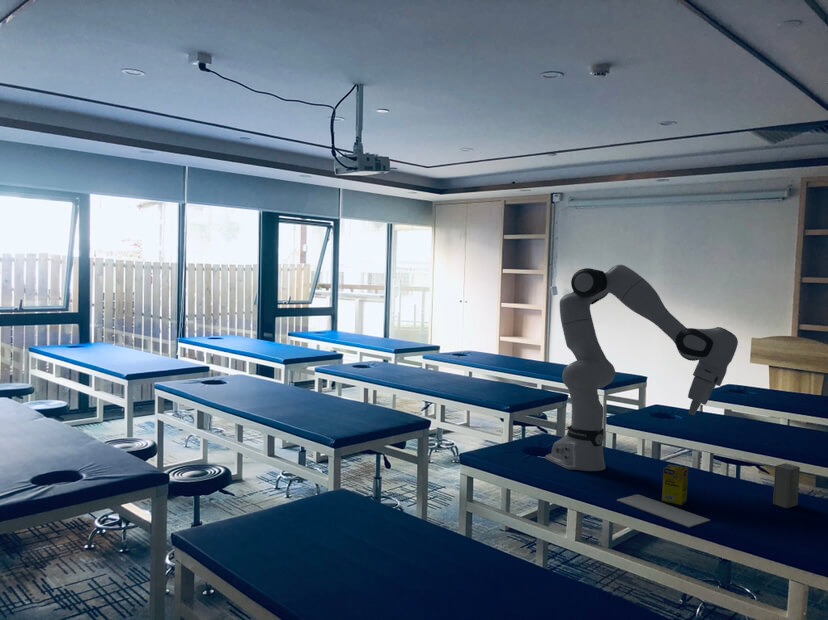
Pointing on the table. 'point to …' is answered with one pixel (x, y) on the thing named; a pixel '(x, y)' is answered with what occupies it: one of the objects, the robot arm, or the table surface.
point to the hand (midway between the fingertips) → (690, 414)
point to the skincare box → (786, 485)
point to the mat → (664, 510)
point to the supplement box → (675, 485)
